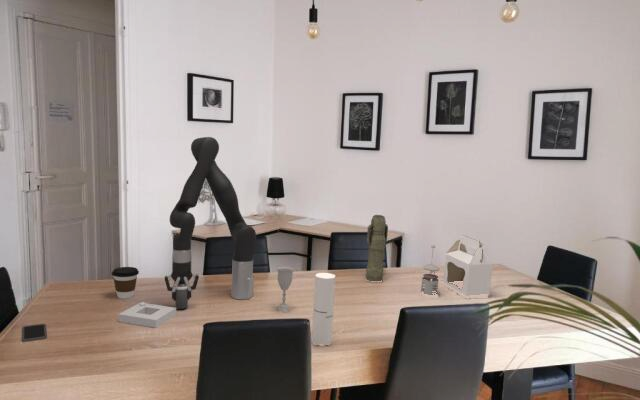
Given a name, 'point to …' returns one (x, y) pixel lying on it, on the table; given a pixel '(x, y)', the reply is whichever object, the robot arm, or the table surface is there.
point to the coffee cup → (125, 281)
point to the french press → (427, 282)
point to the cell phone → (34, 332)
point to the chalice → (284, 284)
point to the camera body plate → (147, 314)
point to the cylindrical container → (323, 308)
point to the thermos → (376, 247)
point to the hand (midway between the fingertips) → (181, 299)
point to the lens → (181, 296)
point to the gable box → (468, 267)
